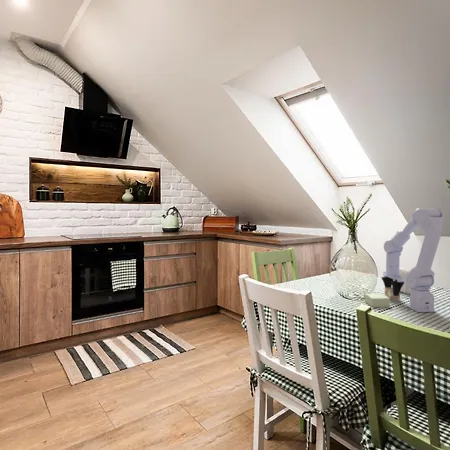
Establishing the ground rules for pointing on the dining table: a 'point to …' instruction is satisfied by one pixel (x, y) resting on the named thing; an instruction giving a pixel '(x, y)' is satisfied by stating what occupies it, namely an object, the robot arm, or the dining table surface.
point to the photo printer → (404, 280)
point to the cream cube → (391, 294)
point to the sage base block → (377, 300)
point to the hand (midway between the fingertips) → (392, 293)
